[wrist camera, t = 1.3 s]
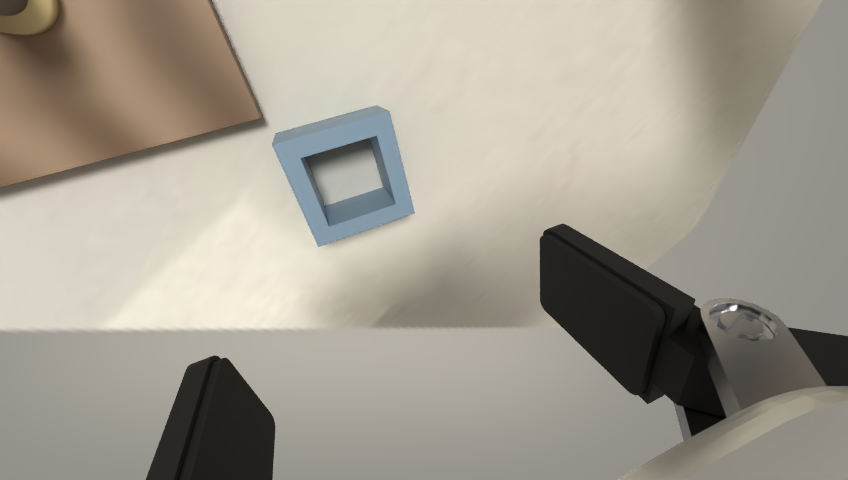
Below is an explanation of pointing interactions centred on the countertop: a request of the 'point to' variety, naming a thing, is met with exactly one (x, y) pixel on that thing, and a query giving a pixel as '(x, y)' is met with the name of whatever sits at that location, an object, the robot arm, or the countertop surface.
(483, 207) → the countertop surface
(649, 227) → the countertop surface
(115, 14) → the post board
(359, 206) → the slate ring
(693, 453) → the robot arm
